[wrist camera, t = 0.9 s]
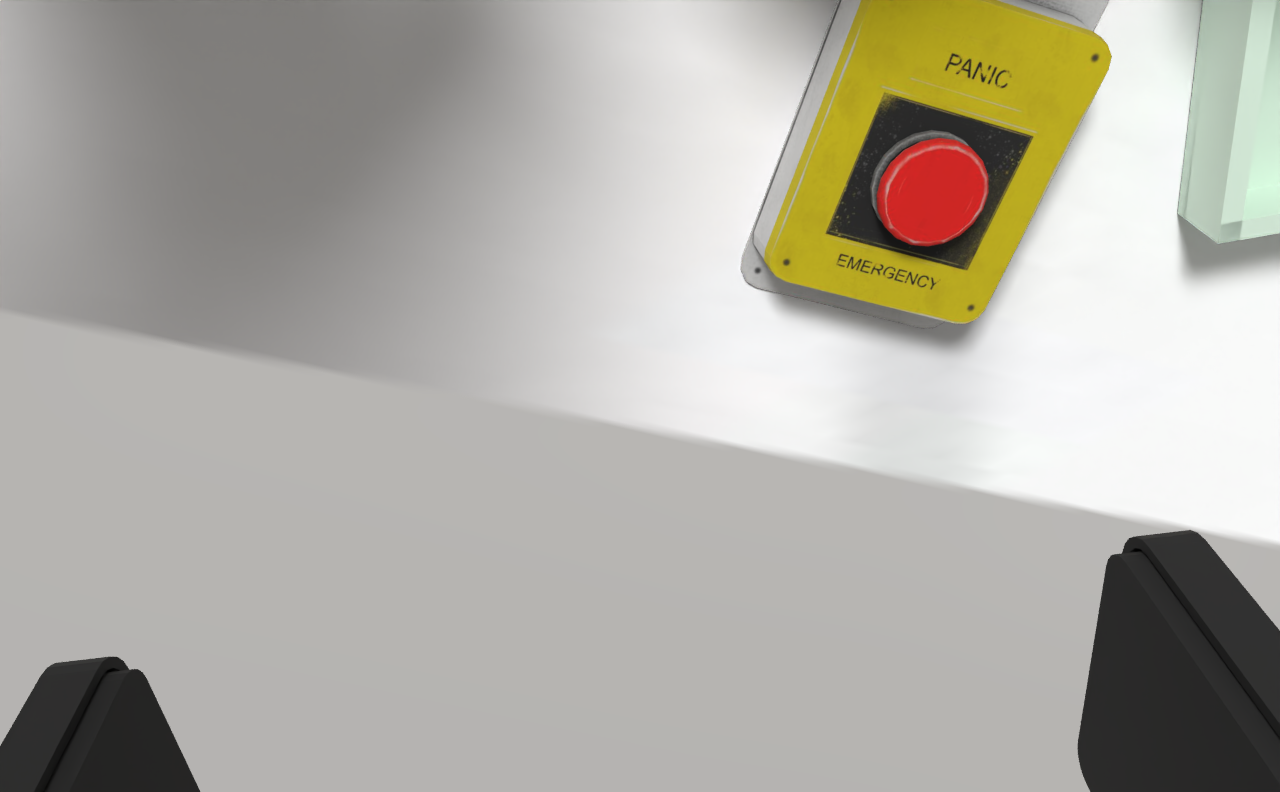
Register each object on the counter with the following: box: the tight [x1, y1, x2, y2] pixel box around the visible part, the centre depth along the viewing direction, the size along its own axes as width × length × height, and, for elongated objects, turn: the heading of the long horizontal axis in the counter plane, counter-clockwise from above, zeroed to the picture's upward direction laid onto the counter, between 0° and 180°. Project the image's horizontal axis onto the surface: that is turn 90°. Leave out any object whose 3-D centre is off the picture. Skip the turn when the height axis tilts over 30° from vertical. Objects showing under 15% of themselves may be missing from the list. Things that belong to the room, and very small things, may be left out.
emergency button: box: [741, 0, 1112, 328], centre depth 38 cm, size 9×4×15 cm
